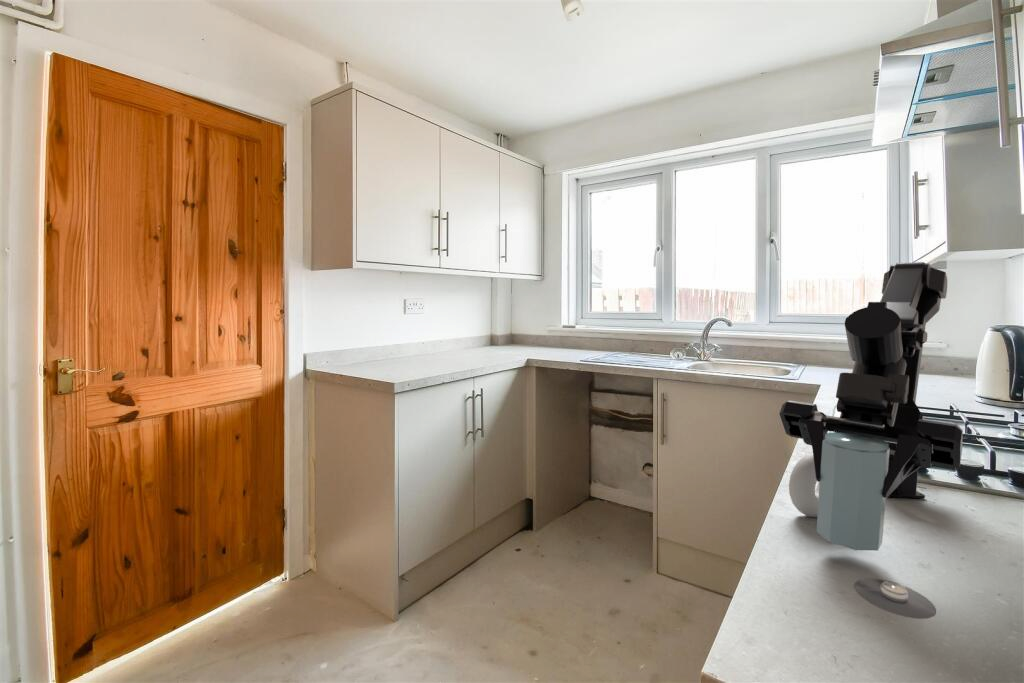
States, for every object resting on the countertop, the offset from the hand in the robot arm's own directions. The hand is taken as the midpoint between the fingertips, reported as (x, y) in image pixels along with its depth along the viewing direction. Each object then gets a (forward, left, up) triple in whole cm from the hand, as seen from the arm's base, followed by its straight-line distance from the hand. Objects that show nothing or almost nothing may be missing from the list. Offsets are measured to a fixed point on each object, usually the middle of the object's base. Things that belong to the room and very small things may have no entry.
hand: (849, 487), depth 59 cm
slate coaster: (+7, +1, -10) cm, 12 cm away
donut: (-14, +4, -10) cm, 18 cm away
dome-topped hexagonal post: (-1, +1, -7) cm, 7 cm away
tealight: (+7, +1, -10) cm, 12 cm away
